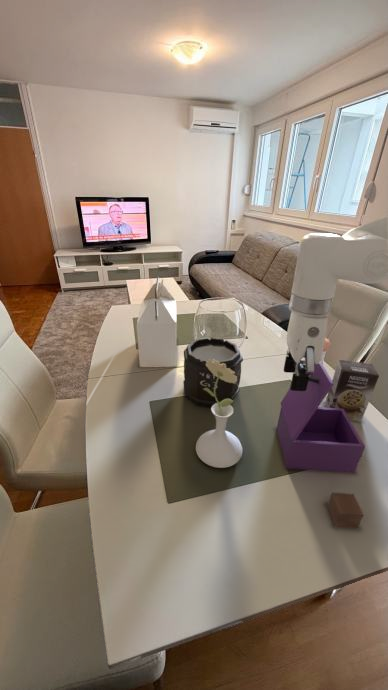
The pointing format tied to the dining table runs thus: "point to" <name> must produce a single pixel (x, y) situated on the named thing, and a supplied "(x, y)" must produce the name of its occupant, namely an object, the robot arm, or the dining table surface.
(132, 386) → the dining table surface
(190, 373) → the black pot
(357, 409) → the coffee box
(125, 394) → the dining table surface
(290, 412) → the lid
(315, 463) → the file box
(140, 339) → the gable box
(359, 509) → the block
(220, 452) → the flower in vase
